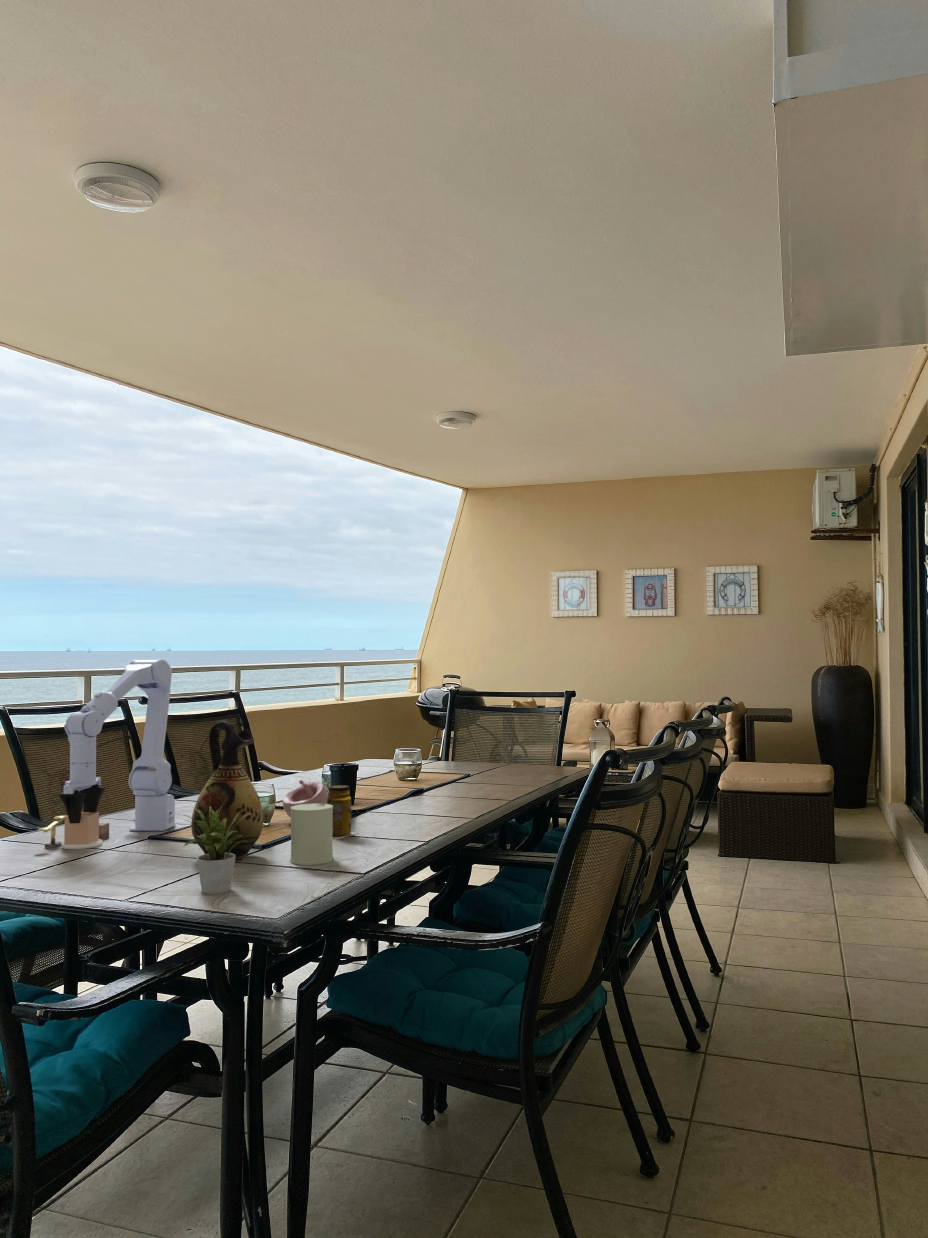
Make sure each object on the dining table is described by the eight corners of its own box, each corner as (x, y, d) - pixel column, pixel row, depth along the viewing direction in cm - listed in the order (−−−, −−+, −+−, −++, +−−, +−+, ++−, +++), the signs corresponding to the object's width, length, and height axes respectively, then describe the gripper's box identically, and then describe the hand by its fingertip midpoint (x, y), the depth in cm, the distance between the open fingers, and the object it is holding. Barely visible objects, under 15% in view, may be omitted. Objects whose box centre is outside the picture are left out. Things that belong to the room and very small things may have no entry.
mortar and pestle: (273, 823, 235) (273, 780, 235) (306, 816, 244) (306, 775, 245) (303, 828, 228) (304, 783, 228) (337, 821, 237) (337, 778, 238)
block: (109, 837, 218) (109, 823, 218) (102, 840, 214) (102, 825, 214) (94, 837, 218) (95, 823, 218) (88, 840, 214) (88, 825, 215)
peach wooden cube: (98, 839, 210) (99, 810, 211) (87, 844, 205) (88, 814, 205) (75, 839, 211) (76, 810, 211) (64, 844, 205) (64, 814, 205)
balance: (57, 843, 211) (57, 815, 211) (69, 843, 211) (70, 815, 211) (35, 851, 201) (35, 823, 201) (48, 851, 201) (48, 823, 201)
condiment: (358, 833, 220) (357, 785, 221) (340, 839, 212) (340, 789, 213) (333, 831, 223) (333, 784, 223) (314, 837, 215) (314, 788, 216)
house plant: (154, 892, 163) (154, 804, 164) (212, 877, 175) (213, 795, 176) (205, 903, 156) (205, 811, 156) (263, 887, 167) (263, 800, 168)
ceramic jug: (278, 855, 195) (278, 720, 197) (223, 869, 182) (224, 724, 184) (226, 847, 205) (227, 718, 206) (171, 859, 192) (172, 722, 193)
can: (342, 858, 191) (341, 803, 192) (314, 867, 183) (314, 809, 184) (309, 854, 196) (309, 800, 196) (281, 862, 188) (281, 806, 189)
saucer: (109, 841, 212) (109, 838, 212) (91, 849, 203) (91, 846, 203) (72, 841, 212) (72, 838, 212) (53, 849, 203) (53, 846, 204)
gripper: (81, 759, 216) (80, 814, 216) (50, 766, 202) (50, 826, 201) (109, 759, 216) (109, 814, 215) (80, 766, 201) (80, 826, 201)
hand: (82, 820), depth 208 cm, fingers open, 7 cm apart
